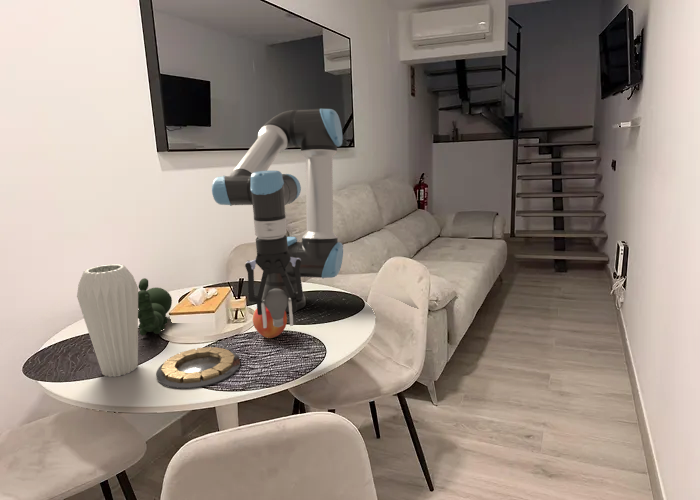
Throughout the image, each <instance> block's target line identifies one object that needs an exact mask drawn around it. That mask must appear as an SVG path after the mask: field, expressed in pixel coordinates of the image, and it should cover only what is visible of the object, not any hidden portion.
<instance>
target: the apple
mask: <svg viewBox="0 0 700 500" xmlns="http://www.w3.org/2000/svg"><path fill="white" fill-rule="evenodd" d="M266 318H267V328H263V318H262V315H258V312H257V308H256V309H255V311H253V315H252V324H253V327H254V329H255V330H256V331H257V333H258V334H260V335H261V336H262V337H264V338H266V339H273V338H276V337H278V336H279V335H281V334H282V333H283V332H284V330H285V329H286V326H287V324H288V316H287V312H286V311H285V312H284V317H283V323H284V325H283V326H281V327H275V326H273V318H272V317H271V313H270V312H269V310H268V309H267V308H266Z"/></svg>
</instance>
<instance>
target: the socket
mask: <svg viewBox="0 0 700 500" xmlns="http://www.w3.org/2000/svg"><path fill="white" fill-rule="evenodd" d="M240 366H241V359H240V357H239V355H237V353H235V352H233V351H230V350H229V349H226V348H222V347H216V346H214V347H213V346H206V347H205V346H204V347H197V348H191V349H188V350H185V351H181V352H179V353H176V354H174V355H173V356H171V357H169V358H168V359H166V360H165V361H164V362H163V363H162V364H161V365H160V366H158V369H157V370H156V373H155V377H156V380H157V382H158V383H159V384H161V385H162V386H163V387H166V388H171V389H177V390H179V389H180V390H182V389H183V390H189V389H197V388H203V387H207V386H211V385H214V384H217V383H220V382H222V381H224V380H227V379H228V378H230V377H232V376H233V375H235V373H236V372H237V371H238V370H239V368H240Z"/></svg>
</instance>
